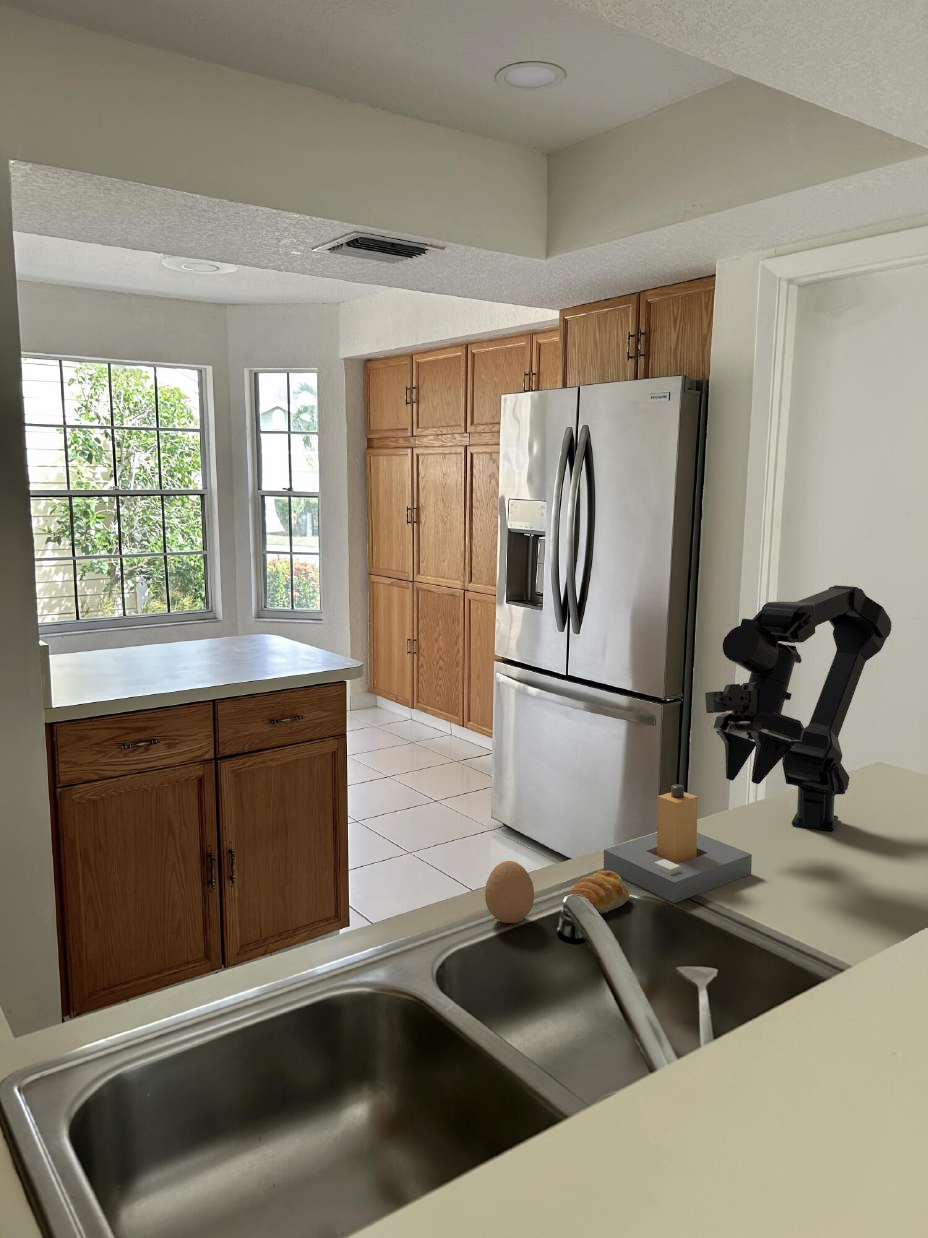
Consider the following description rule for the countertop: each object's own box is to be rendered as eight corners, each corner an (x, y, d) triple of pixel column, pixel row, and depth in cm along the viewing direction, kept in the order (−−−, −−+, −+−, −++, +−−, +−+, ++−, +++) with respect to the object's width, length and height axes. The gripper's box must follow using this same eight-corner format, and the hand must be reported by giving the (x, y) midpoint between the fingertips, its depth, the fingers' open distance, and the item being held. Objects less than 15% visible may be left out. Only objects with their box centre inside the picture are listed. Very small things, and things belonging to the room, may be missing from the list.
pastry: (592, 926, 118) (591, 898, 118) (551, 910, 123) (551, 883, 122) (633, 902, 125) (633, 875, 124) (593, 888, 129) (593, 862, 129)
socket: (679, 843, 144) (679, 820, 143) (751, 873, 132) (751, 849, 132) (603, 868, 135) (603, 844, 135) (674, 903, 124) (674, 876, 123)
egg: (524, 907, 123) (524, 849, 122) (541, 929, 117) (541, 868, 116) (479, 914, 122) (478, 855, 120) (494, 937, 115) (493, 875, 114)
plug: (677, 863, 136) (678, 780, 135) (696, 871, 133) (697, 786, 132) (656, 871, 134) (657, 786, 132) (675, 879, 131) (676, 792, 129)
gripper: (697, 669, 146) (670, 762, 144) (745, 660, 128) (716, 767, 126) (760, 691, 147) (735, 784, 145) (818, 685, 129) (790, 792, 126)
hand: (741, 781), depth 135 cm, fingers open, 9 cm apart
